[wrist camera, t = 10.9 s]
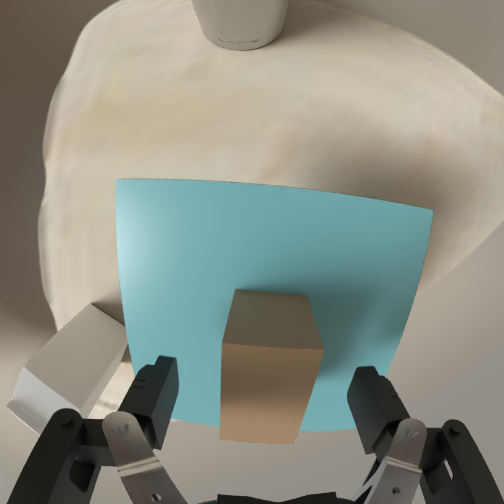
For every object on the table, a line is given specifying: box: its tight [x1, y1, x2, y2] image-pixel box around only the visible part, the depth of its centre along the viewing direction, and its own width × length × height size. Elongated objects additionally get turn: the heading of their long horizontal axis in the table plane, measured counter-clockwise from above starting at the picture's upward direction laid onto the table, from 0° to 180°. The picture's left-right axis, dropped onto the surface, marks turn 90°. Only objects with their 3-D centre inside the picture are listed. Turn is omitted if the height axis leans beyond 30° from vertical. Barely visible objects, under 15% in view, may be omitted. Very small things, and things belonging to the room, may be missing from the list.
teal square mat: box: [116, 179, 434, 444], centre depth 12 cm, size 16×16×5 cm
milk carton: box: [6, 304, 128, 435], centre depth 23 cm, size 7×7×19 cm
